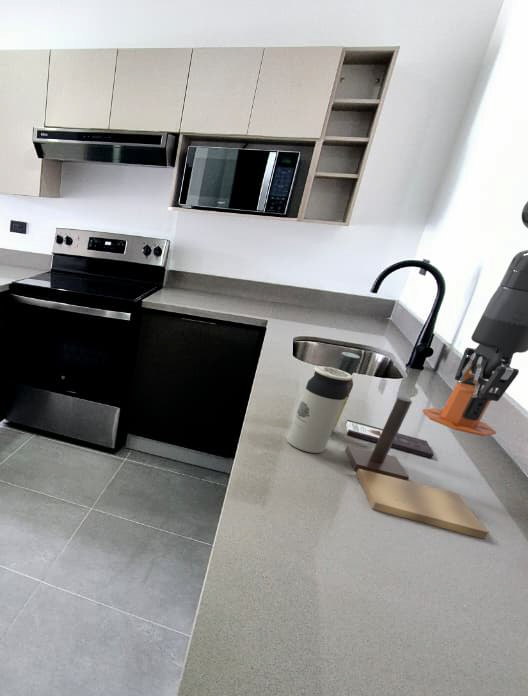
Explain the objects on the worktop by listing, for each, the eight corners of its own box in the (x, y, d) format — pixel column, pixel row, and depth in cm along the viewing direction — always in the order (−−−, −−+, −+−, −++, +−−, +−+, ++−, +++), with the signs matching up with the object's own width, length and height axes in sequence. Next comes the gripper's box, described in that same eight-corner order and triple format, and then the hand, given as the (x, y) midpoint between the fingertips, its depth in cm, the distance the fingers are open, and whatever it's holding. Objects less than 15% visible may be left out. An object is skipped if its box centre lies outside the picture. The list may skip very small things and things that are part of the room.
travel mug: (317, 441, 118) (346, 369, 110) (328, 457, 111) (360, 381, 103) (282, 434, 119) (308, 363, 111) (291, 449, 111) (320, 374, 104)
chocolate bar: (433, 454, 117) (348, 431, 123) (431, 458, 117) (347, 434, 124) (426, 440, 124) (347, 419, 131) (425, 444, 125) (345, 422, 131)
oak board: (453, 499, 100) (457, 493, 99) (484, 539, 88) (488, 532, 87) (355, 474, 105) (358, 468, 104) (372, 509, 92) (375, 502, 92)
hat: (477, 419, 92) (495, 386, 89) (503, 440, 83) (523, 405, 81) (416, 406, 94) (432, 373, 92) (435, 425, 86) (453, 390, 83)
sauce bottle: (303, 421, 128) (331, 347, 120) (328, 426, 127) (359, 352, 119) (310, 432, 122) (340, 355, 114) (336, 437, 121) (369, 360, 113)
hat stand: (392, 462, 113) (424, 397, 106) (406, 483, 104) (441, 413, 97) (344, 450, 115) (372, 386, 108) (353, 470, 106) (384, 401, 100)
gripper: (565, 332, 74) (506, 434, 81) (517, 315, 86) (469, 404, 94) (506, 322, 76) (453, 422, 83) (467, 306, 88) (424, 395, 95)
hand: (462, 412), depth 88 cm, fingers closed on hat, 5 cm apart
